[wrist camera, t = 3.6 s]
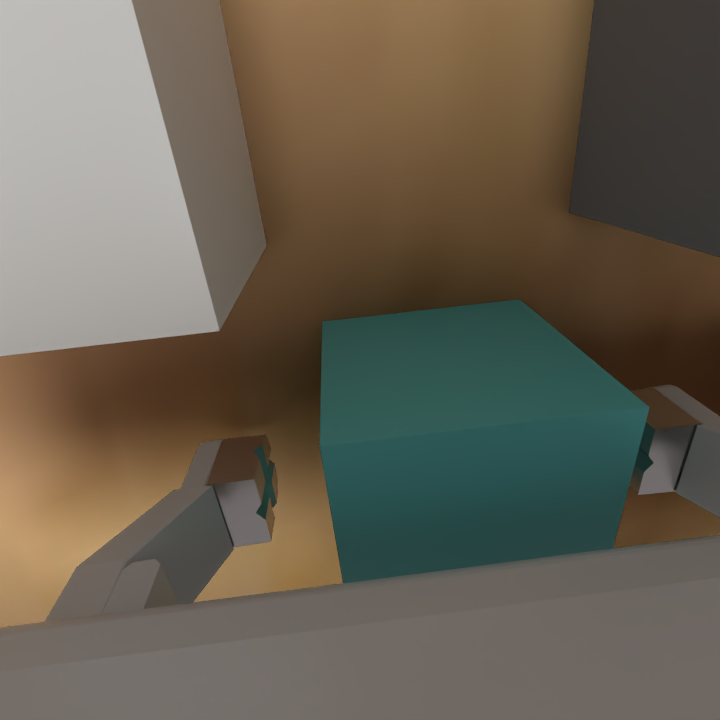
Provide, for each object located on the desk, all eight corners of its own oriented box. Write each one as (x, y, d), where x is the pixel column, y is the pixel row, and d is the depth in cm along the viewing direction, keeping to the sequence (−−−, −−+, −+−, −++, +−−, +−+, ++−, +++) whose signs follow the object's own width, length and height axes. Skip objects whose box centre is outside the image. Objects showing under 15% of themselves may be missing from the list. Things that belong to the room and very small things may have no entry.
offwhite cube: (212, -40, 8) (54, -290, 3) (266, 244, 10) (219, 330, 5) (-75, -12, 8) (-649, -228, 3) (47, 269, 10) (-182, 376, 5)
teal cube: (518, 298, 11) (649, 407, 7) (506, 452, 13) (596, 611, 9) (322, 320, 11) (319, 446, 6) (344, 472, 13) (353, 642, 9)
